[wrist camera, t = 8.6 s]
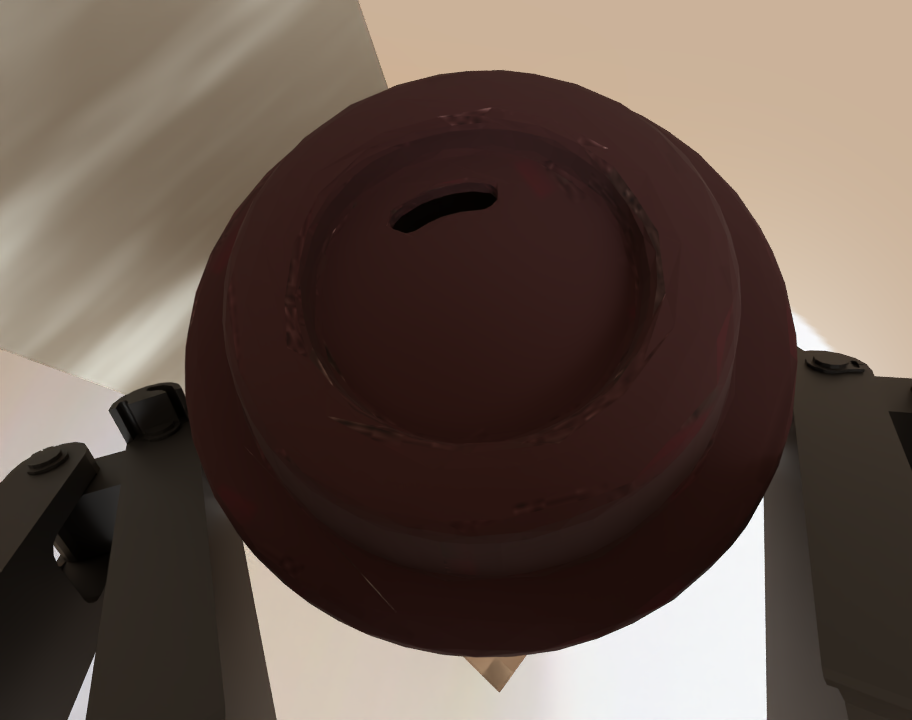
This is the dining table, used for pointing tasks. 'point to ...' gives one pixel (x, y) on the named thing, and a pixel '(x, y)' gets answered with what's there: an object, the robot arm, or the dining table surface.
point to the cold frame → (151, 165)
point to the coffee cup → (490, 366)
